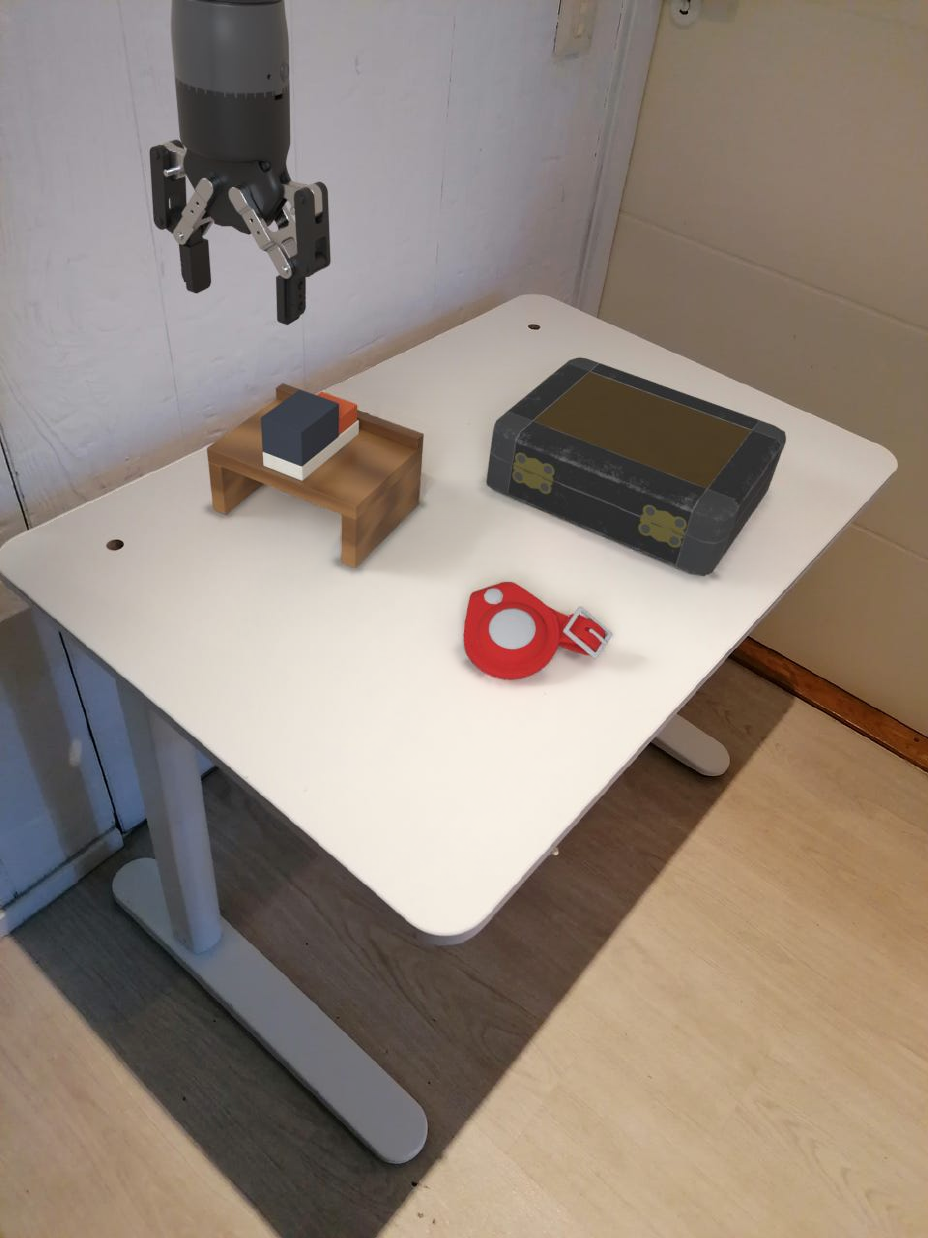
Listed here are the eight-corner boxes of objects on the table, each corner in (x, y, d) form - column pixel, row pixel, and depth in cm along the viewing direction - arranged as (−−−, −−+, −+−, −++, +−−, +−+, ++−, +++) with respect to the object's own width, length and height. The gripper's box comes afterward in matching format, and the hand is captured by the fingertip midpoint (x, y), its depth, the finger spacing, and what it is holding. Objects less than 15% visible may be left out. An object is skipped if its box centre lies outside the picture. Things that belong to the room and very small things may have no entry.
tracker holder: (485, 688, 77) (441, 589, 82) (486, 710, 81) (444, 615, 86) (623, 637, 79) (572, 543, 84) (617, 661, 83) (569, 570, 88)
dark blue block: (302, 481, 86) (301, 432, 83) (263, 466, 87) (260, 417, 84) (359, 433, 92) (360, 387, 89) (321, 420, 94) (321, 373, 90)
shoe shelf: (355, 568, 89) (356, 495, 83) (212, 509, 93) (205, 436, 88) (419, 504, 97) (424, 433, 91) (285, 453, 101) (282, 382, 96)
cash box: (772, 487, 105) (794, 425, 100) (706, 584, 91) (728, 518, 86) (567, 409, 113) (578, 348, 108) (479, 488, 100) (487, 423, 95)
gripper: (108, 58, 64) (138, 295, 75) (288, 106, 60) (292, 349, 71) (183, 42, 69) (200, 265, 80) (353, 85, 65) (347, 314, 76)
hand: (243, 304), depth 75 cm, fingers open, 8 cm apart
